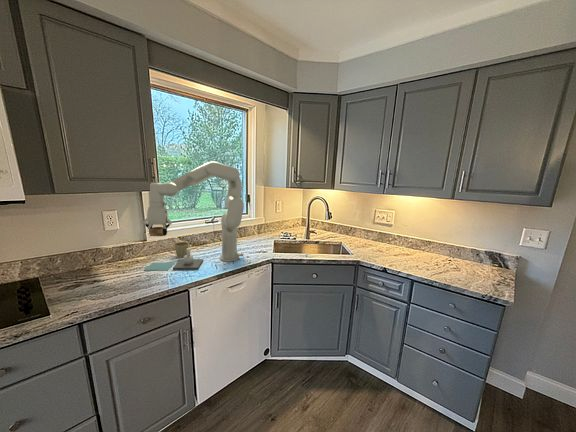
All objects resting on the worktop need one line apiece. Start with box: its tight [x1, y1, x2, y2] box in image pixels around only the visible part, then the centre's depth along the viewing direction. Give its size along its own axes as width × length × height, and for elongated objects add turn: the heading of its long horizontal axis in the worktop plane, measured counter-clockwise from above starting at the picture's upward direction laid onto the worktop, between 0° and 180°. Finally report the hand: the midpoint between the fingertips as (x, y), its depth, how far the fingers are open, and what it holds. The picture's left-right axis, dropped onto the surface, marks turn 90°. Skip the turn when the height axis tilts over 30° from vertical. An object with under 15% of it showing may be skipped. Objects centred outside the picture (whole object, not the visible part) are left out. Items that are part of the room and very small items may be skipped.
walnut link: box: [148, 226, 164, 237], centre depth 140 cm, size 7×7×4 cm
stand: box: [172, 248, 204, 271], centre depth 146 cm, size 14×14×11 cm
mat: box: [143, 261, 176, 272], centre depth 143 cm, size 13×12×1 cm
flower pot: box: [173, 241, 189, 259], centre depth 162 cm, size 9×9×9 cm
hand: (158, 234), depth 140 cm, fingers closed on walnut link, 6 cm apart
